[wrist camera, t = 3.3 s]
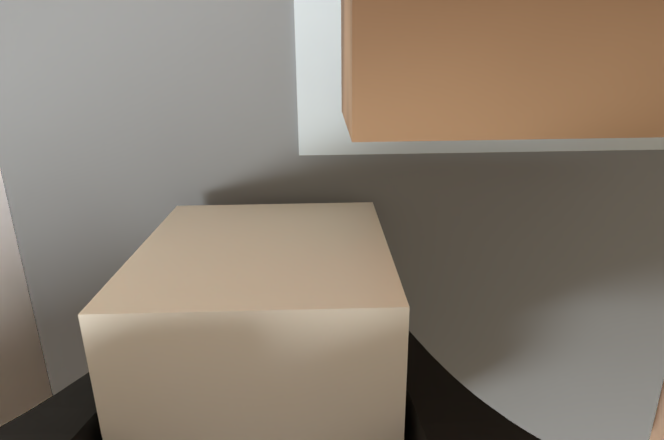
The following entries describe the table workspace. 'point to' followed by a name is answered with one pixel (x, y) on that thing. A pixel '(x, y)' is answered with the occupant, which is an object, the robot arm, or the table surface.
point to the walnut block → (502, 69)
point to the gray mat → (332, 197)
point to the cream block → (253, 328)
